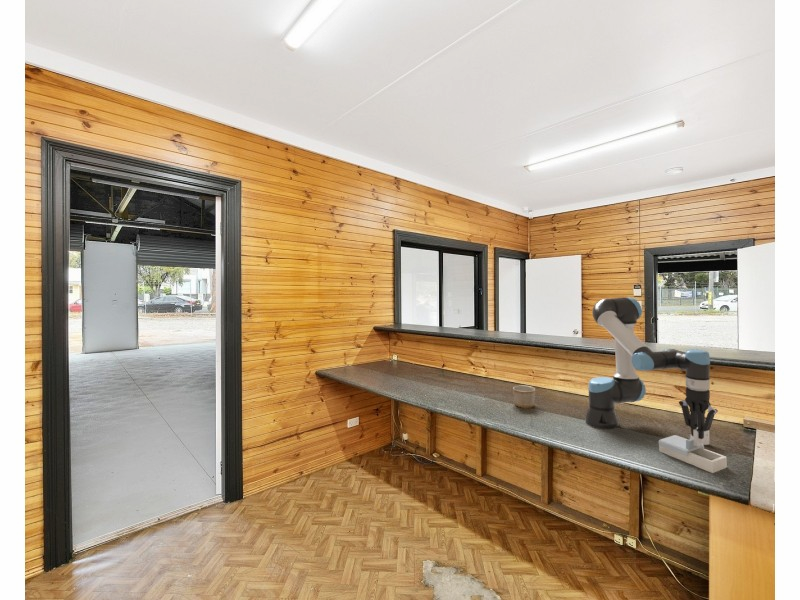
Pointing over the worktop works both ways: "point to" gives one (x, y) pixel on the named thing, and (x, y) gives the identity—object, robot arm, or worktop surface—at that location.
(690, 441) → the cover
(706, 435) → the white angled block
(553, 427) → the worktop surface
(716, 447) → the worktop surface
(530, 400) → the planter
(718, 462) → the long white channel rail
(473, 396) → the worktop surface
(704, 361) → the robot arm
